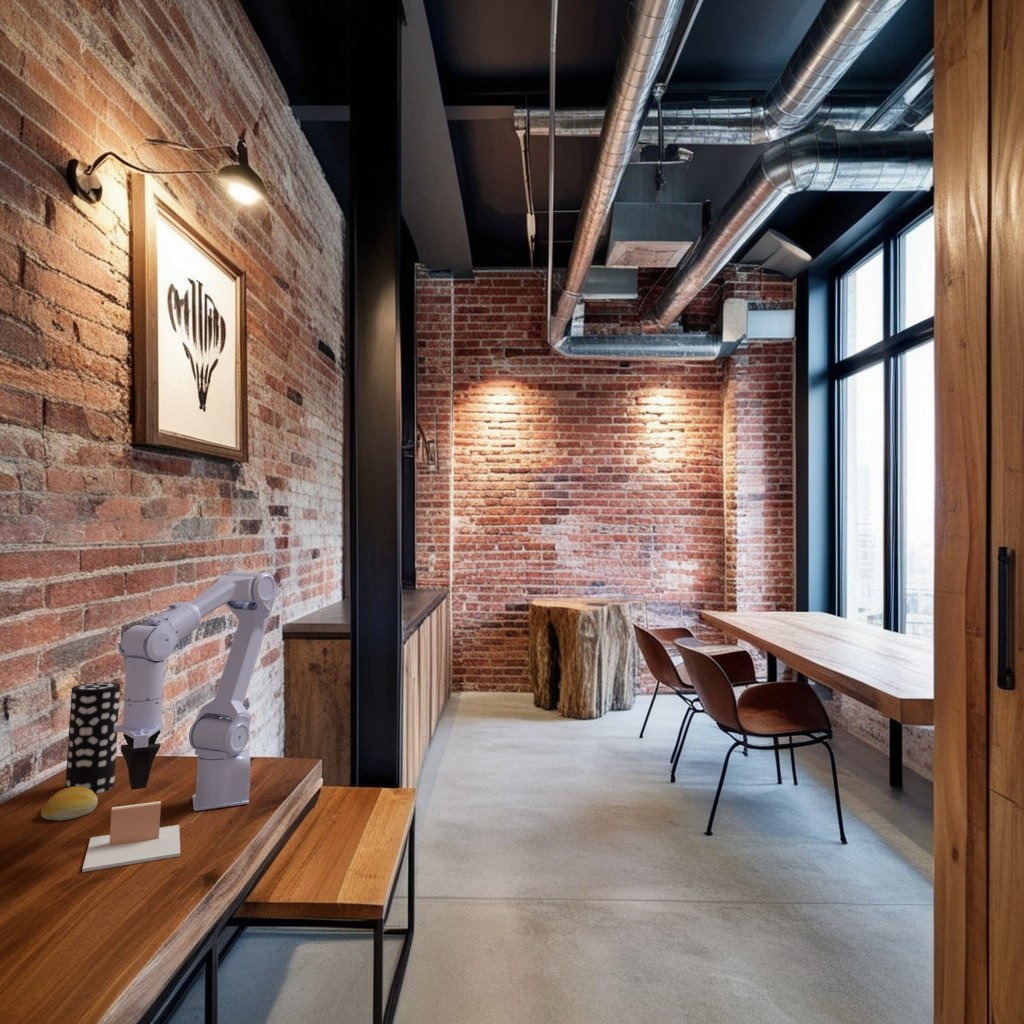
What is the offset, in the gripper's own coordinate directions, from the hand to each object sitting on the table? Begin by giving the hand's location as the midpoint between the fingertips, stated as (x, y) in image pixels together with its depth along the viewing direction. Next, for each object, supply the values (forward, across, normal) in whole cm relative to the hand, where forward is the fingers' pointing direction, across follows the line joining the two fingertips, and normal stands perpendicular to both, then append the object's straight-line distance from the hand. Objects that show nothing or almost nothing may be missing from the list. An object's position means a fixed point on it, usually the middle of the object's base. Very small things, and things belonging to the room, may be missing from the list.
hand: (139, 780), depth 112 cm
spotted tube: (+10, -30, -9) cm, 33 cm away
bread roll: (+10, -18, -11) cm, 23 cm away
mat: (+9, +4, 0) cm, 10 cm away
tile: (+9, +2, 0) cm, 9 cm away
